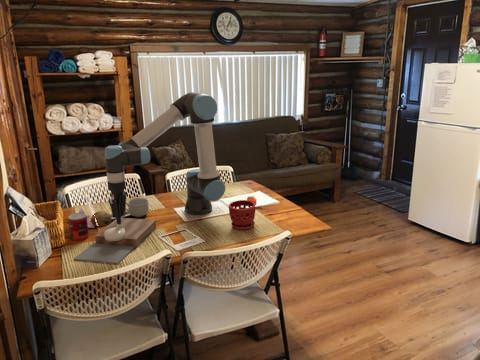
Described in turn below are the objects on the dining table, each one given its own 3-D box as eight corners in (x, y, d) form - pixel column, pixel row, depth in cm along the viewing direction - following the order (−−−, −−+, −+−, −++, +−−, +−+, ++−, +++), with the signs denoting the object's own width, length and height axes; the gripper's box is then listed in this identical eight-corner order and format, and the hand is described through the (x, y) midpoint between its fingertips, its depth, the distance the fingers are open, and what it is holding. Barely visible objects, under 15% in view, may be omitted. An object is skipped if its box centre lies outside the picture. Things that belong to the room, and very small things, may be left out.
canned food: (73, 234, 188) (70, 213, 184) (91, 233, 188) (88, 212, 185) (68, 241, 180) (65, 219, 177) (86, 240, 181) (83, 218, 178)
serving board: (156, 227, 195) (155, 220, 194) (137, 247, 174) (136, 239, 173) (118, 224, 198) (118, 217, 197) (95, 243, 178) (94, 235, 176)
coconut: (97, 234, 196) (100, 222, 193) (84, 222, 200) (87, 210, 196) (113, 227, 205) (116, 215, 201) (100, 216, 208) (103, 204, 204)
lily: (69, 238, 186) (76, 222, 183) (62, 222, 193) (68, 206, 190) (93, 237, 195) (100, 222, 192) (85, 222, 202) (92, 207, 199)
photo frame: (177, 250, 170) (158, 236, 184) (177, 252, 170) (158, 238, 184) (205, 240, 179) (185, 228, 192) (205, 242, 179) (185, 230, 193)
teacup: (152, 211, 215) (151, 198, 213) (145, 219, 205) (144, 205, 203) (127, 211, 217) (126, 197, 214) (119, 218, 206) (118, 204, 204)
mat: (134, 247, 174) (134, 246, 174) (118, 264, 160) (118, 262, 159) (93, 244, 177) (93, 243, 177) (74, 260, 163) (73, 258, 163)
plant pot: (242, 219, 205) (242, 197, 201) (260, 226, 196) (260, 204, 192) (223, 226, 196) (223, 204, 192) (242, 234, 187) (242, 210, 183)
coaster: (129, 233, 178) (128, 228, 178) (118, 242, 170) (117, 237, 169) (112, 231, 181) (111, 226, 180) (100, 240, 172) (99, 235, 172)
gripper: (115, 176, 180) (120, 223, 187) (100, 184, 168) (106, 234, 174) (130, 177, 179) (134, 224, 185) (116, 185, 166) (121, 236, 173)
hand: (120, 229), depth 180 cm, fingers closed
